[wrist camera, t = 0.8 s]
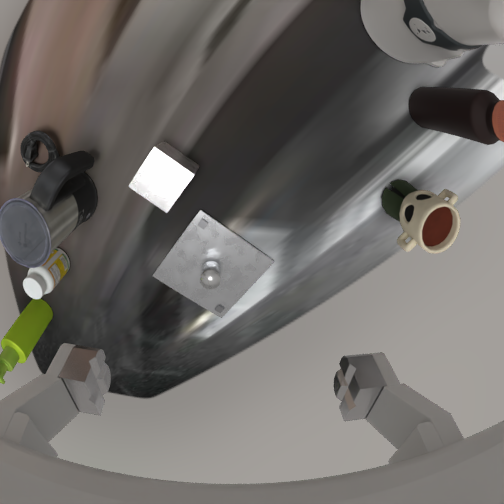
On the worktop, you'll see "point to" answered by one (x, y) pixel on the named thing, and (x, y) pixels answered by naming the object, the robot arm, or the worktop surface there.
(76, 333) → the worktop surface
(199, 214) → the plate
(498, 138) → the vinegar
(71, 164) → the milk frother
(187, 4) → the worktop surface
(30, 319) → the soap dispenser
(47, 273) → the supplement bottle
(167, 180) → the chalk-like cube
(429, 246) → the character mug
